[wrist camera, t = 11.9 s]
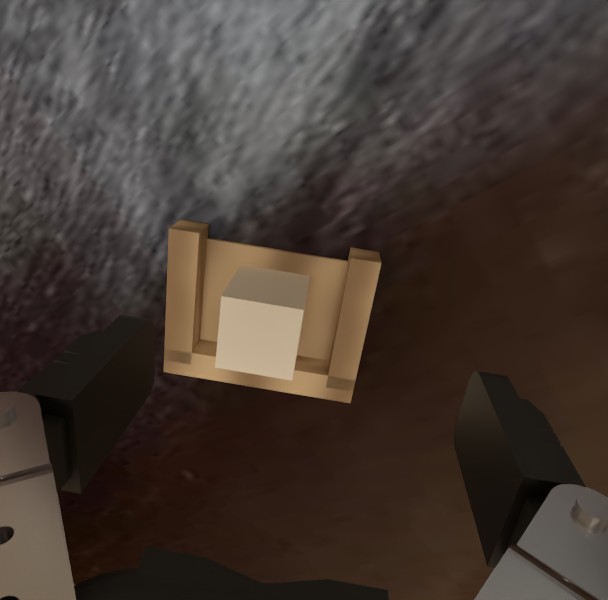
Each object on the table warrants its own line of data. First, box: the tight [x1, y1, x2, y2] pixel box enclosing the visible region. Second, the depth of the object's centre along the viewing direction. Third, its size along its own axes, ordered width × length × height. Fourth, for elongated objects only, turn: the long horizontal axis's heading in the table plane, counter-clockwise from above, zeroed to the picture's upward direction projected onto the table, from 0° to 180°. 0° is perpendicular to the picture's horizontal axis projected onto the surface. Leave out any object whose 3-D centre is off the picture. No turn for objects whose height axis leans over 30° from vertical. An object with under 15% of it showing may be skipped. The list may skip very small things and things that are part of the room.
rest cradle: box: [164, 220, 381, 403], centre depth 34 cm, size 14×11×2 cm
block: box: [215, 264, 310, 381], centre depth 32 cm, size 5×5×6 cm
